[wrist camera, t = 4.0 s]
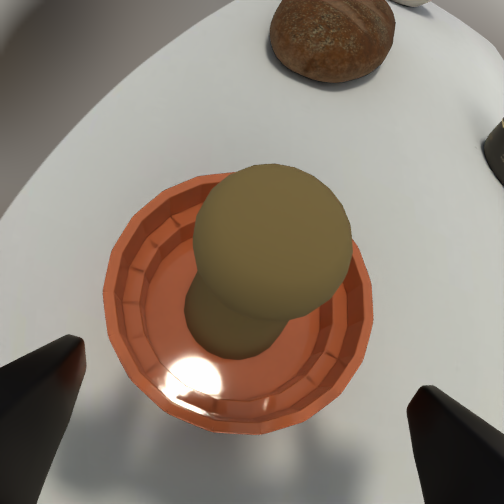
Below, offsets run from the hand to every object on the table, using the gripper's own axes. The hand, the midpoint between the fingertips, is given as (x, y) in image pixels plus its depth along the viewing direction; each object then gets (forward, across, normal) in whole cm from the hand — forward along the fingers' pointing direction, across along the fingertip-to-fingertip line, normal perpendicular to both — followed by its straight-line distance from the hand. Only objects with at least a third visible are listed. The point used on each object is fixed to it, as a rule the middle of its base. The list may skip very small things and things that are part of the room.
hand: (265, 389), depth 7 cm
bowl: (+11, 0, +5) cm, 12 cm away
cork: (+11, 0, +4) cm, 12 cm away
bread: (+41, -8, -24) cm, 48 cm away
